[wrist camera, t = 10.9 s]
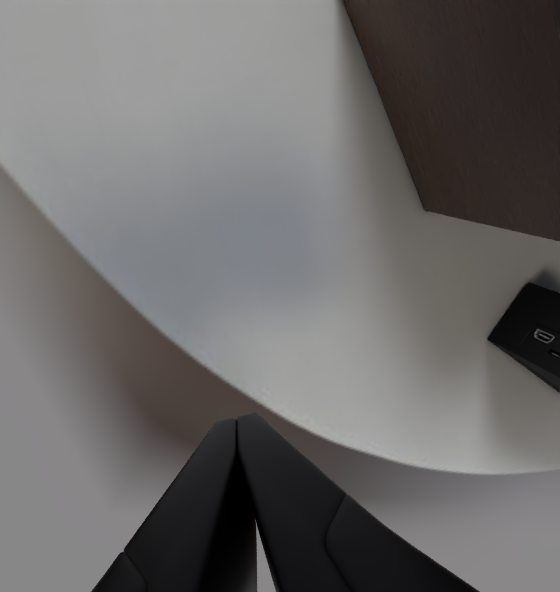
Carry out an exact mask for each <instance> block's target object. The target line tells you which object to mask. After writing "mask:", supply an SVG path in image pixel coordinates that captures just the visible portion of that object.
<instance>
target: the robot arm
mask: <svg viewBox="0 0 560 592" xmlns="http://www.w3.org/2000/svg"><path fill="white" fill-rule="evenodd" d="M255 519H256V521H255ZM256 523H257V527H258V530H259V534H260V538H261V541H262V545H263V548H264V551H265V555H266V558H267V562H268V565H269V568H270V572H271V576H272V579H273V582H274V586H275V589H276V592H479V591H478V590H476V589H475V588H473V587H472V586H470V585H469V584H468V583H466V582H465V581H463V580H462V579H460V578H459V577H457V576H456V575H455V574H453V573H452V572H450V571H449V570H447V569H446V568H444V567H443V566H441V565H440V564H438V563H437V562H436V561H434V560H433V559H431V558H430V557H428V556H427V555H425V554H424V553H422V552H421V551H420V550H418V549H417V548H415V547H414V546H412V545H411V544H410V543H408V542H407V541H405V540H404V539H403V538H401V537H400V536H399V535H397V534H396V533H394V532H393V531H392V530H390V529H389V528H388V527H386V526H385V525H384V524H382V523H381V522H380V521H379V520H378V519H377V518H375V517H374V516H373V515H372V514H371V513H369V512H368V511H367V510H366V509H365V508H363V507H362V506H361V505H360V504H359V503H358V502H357V501H356V500H354V499H353V498H352V497H351V496H350V495H347V493H346V492H345V491H344V490H342V489H341V488H340V487H339V486H338V485H337V484H336V483H335V482H334V481H332V480H331V479H330V478H329V477H328V476H327V475H326V474H324V473H323V472H322V471H321V470H320V469H319V468H318V467H317V466H316V465H315V464H314V463H312V462H311V461H310V460H309V459H308V458H307V457H306V456H305V455H303V454H302V453H301V452H300V451H299V450H298V449H297V448H296V447H295V446H293V445H292V444H291V443H290V442H289V441H288V440H287V439H286V438H285V437H284V436H282V435H281V434H280V433H279V432H278V431H277V430H276V429H275V428H273V427H272V426H271V425H270V424H269V423H268V422H267V421H266V420H265V419H264V418H262V417H261V416H260V415H259V414H257V413H250V414H246V415H242V416H239V417H238V419H236V418H229V419H225V420H221V421H217V422H216V423H215V424H214V425H213V427H212V428H211V430H210V431H209V433H208V434H207V435H206V436H205V438H204V439H203V441H202V442H201V443H200V445H199V446H198V448H197V449H196V450H195V452H194V453H193V454H192V456H191V457H190V459H189V460H188V461H187V463H186V464H185V465H184V467H183V468H182V470H181V471H180V472H179V474H178V475H177V477H176V478H175V479H174V481H173V482H172V483H171V485H170V486H169V488H168V489H167V490H166V492H165V493H164V494H163V496H162V497H161V499H160V500H159V501H158V503H157V504H156V505H155V507H154V508H153V510H152V511H151V512H150V514H149V515H148V516H147V518H146V519H145V521H144V522H143V523H142V525H141V526H140V527H139V529H138V530H137V532H136V533H135V534H134V536H133V537H132V539H131V540H130V541H129V543H128V544H127V545H126V547H125V548H124V552H121V553H120V554H119V555H118V557H117V558H116V559H115V561H114V562H113V564H112V565H111V566H110V568H109V569H108V570H107V572H106V573H105V574H104V576H103V577H102V578H101V580H100V581H99V582H98V584H97V585H96V586H95V587H94V589H93V590H92V591H91V592H257V552H256V551H257V548H256V547H257V544H256Z"/></svg>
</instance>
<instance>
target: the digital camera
mask: <svg viewBox="0 0 560 592" xmlns="http://www.w3.org/2000/svg"><path fill="white" fill-rule="evenodd" d="M488 340H489V341H491V342H492V343H493V344H495V345H496V346H497V347H499V348H500V349H501V350H503V351H504V352H505V353H507V354H508V355H510V356H511V357H512V358H514V359H515V360H516V361H518V362H519V363H520V364H522V365H523V366H524V367H526V368H527V369H528V370H530V371H531V372H533V373H534V374H535V375H537V376H538V377H539V378H541V379H542V380H543V381H545V382H546V383H547V384H549V385H550V386H552V387H553V388H554V389H556V390H557V391H558V392H560V293H559V292H556V291H553V290H550V289H547V288H544V287H541V286H538V285H535V284H532V283H529V284H527V285H526V287H525V288H524V289H523V291H522V292H521V294H520V295H519V296H518V298H517V299H516V301H515V302H514V303H513V305H512V306H511V308H510V309H509V310H508V312H507V313H506V315H505V316H504V318H503V319H502V320H501V322H500V323H499V325H498V326H497V327H496V329H495V330H494V332H493V333H492V334H491V335H490V337H489V338H488Z"/></svg>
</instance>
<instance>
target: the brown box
mask: <svg viewBox="0 0 560 592" xmlns="http://www.w3.org/2000/svg"><path fill="white" fill-rule="evenodd" d="M344 3H345V5H346V8H347V10H348V13H349V15H350V18H351V21H352V23H353V26H354V28H355V31H356V33H357V36H358V39H359V41H360V44H361V46H362V49H363V51H364V54H365V57H366V59H367V62H368V64H369V67H370V69H371V72H372V75H373V77H374V80H375V82H376V85H377V87H378V90H379V93H380V95H381V98H382V100H383V103H384V105H385V108H386V110H387V113H388V116H389V118H390V121H391V123H392V126H393V128H394V131H395V134H396V136H397V139H398V141H399V144H400V146H401V149H402V152H403V154H404V157H405V159H406V162H407V164H408V167H409V170H410V172H411V175H412V177H413V180H414V182H415V185H416V188H417V190H418V193H419V195H420V198H421V200H422V203H423V206H424V208H425V210H426V211H428V212H433V213H437V214H441V215H446V216H450V217H455V218H459V219H464V220H468V221H472V222H477V223H481V224H486V225H490V226H494V227H499V228H503V229H508V230H512V231H517V232H521V233H525V234H530V235H534V236H539V237H543V238H548V239H552V240H556V241H560V0H344Z"/></svg>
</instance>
